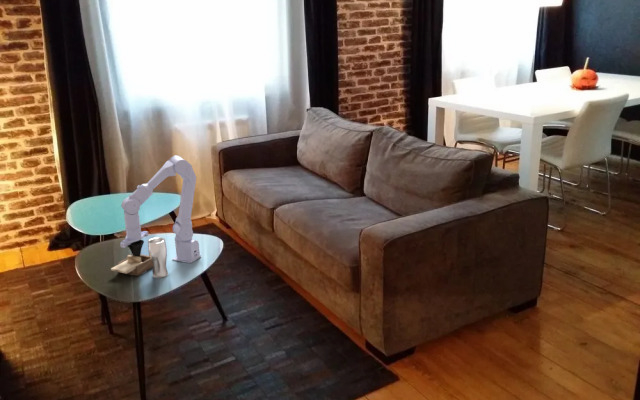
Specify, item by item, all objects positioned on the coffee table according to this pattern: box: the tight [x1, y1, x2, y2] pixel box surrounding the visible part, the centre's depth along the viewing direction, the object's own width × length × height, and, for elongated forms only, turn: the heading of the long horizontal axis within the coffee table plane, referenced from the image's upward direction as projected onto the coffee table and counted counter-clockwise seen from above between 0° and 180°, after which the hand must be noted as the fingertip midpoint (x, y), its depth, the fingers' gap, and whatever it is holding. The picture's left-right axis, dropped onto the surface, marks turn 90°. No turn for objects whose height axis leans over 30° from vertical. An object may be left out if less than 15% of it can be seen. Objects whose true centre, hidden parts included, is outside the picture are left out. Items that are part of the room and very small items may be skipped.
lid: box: [110, 254, 143, 275], centre depth 244 cm, size 8×10×3 cm
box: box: [117, 254, 153, 277], centre depth 249 cm, size 10×11×4 cm
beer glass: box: [147, 236, 169, 279], centre depth 241 cm, size 7×7×15 cm
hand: (136, 257), depth 249 cm, fingers closed
